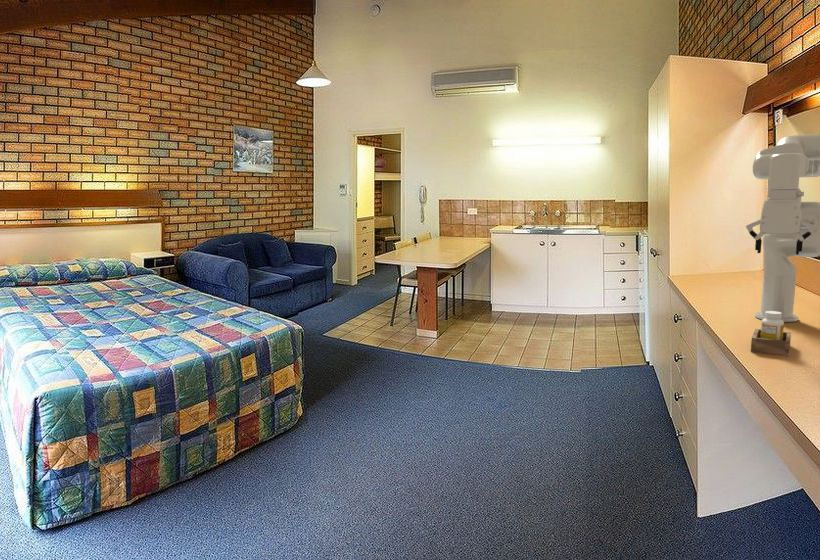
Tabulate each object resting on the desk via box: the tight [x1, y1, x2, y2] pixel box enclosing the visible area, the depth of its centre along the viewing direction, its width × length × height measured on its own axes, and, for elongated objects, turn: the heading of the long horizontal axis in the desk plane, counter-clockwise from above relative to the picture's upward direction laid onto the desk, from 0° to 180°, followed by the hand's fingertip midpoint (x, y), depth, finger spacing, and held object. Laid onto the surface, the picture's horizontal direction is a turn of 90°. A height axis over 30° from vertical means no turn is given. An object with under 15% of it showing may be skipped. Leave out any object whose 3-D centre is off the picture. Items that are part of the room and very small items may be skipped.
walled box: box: [750, 328, 792, 357], centre depth 160 cm, size 12×9×4 cm
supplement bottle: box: [760, 311, 785, 341], centre depth 160 cm, size 5×5×10 cm
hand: (777, 253), depth 167 cm, fingers open, 9 cm apart
